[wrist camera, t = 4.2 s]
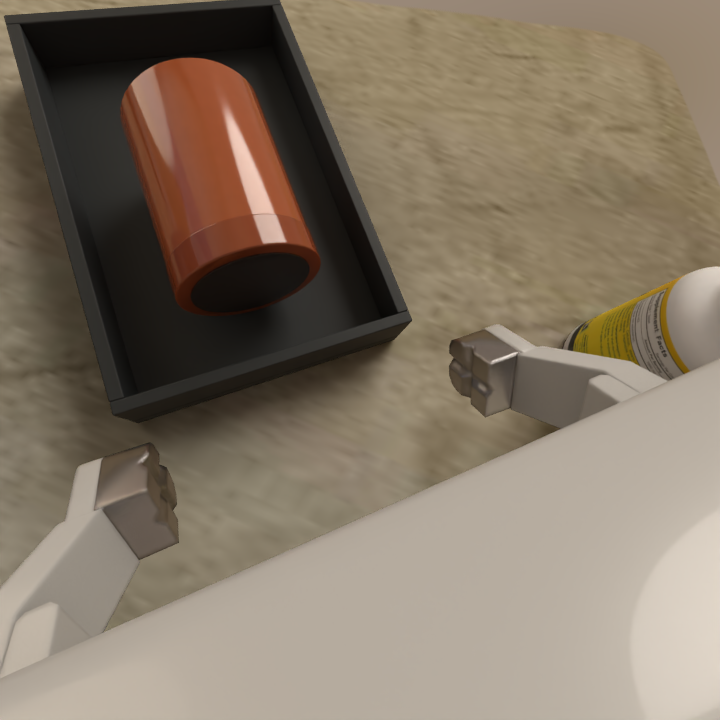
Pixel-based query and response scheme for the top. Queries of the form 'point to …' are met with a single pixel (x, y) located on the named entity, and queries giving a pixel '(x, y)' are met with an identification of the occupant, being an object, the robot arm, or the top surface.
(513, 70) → the top surface
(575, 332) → the pill bottle
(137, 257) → the plant tray
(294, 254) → the plant pot
